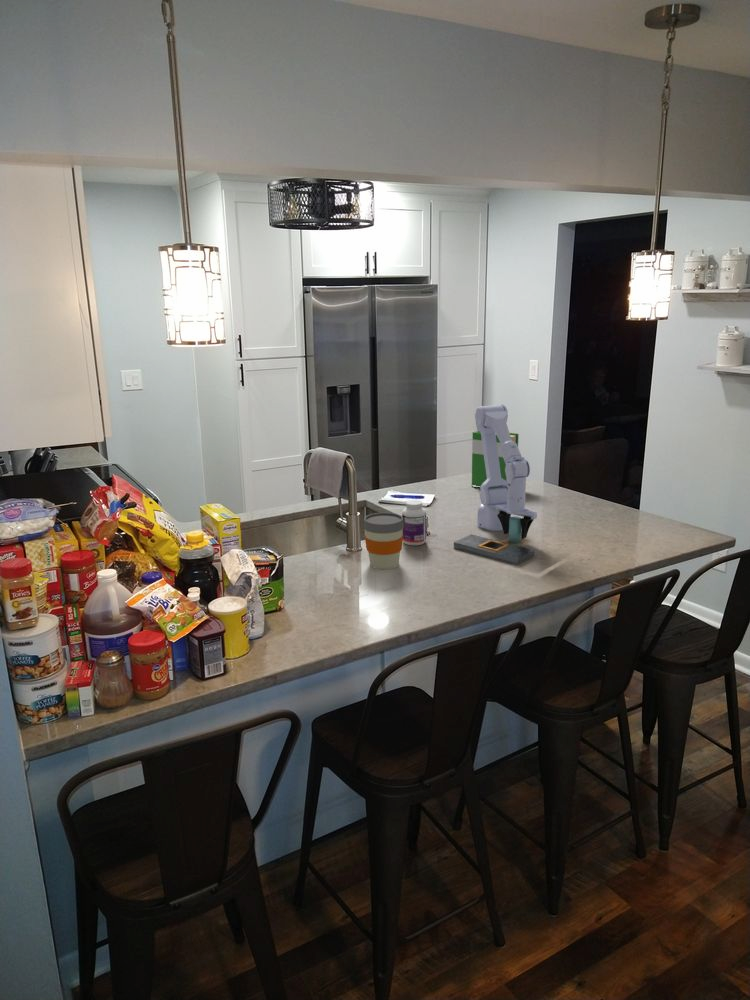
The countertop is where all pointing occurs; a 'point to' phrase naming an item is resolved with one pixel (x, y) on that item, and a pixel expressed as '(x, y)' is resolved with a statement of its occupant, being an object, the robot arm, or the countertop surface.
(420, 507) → the pill bottle
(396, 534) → the reusable coffee cup
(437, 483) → the countertop surface
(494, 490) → the robot arm
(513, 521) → the peg
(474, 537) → the grey peg hole board
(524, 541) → the brown square coaster
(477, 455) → the hardback book
